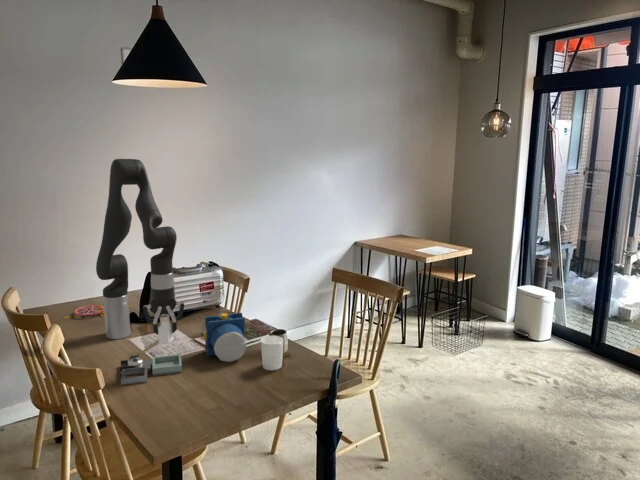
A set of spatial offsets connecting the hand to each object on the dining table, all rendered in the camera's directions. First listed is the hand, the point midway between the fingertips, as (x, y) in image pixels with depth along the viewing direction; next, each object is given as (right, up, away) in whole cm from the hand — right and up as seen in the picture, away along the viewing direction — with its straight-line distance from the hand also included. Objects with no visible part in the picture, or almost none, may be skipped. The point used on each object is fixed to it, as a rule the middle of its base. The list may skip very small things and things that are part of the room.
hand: (165, 332), depth 177 cm
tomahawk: (-11, -10, +20) cm, 25 cm away
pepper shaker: (0, -4, +1) cm, 4 cm away
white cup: (+37, -13, +4) cm, 39 cm away
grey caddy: (-10, -14, -2) cm, 17 cm away
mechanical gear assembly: (-48, -2, +59) cm, 76 cm away
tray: (0, -13, +2) cm, 13 cm away
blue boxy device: (+19, -11, +13) cm, 26 cm away
